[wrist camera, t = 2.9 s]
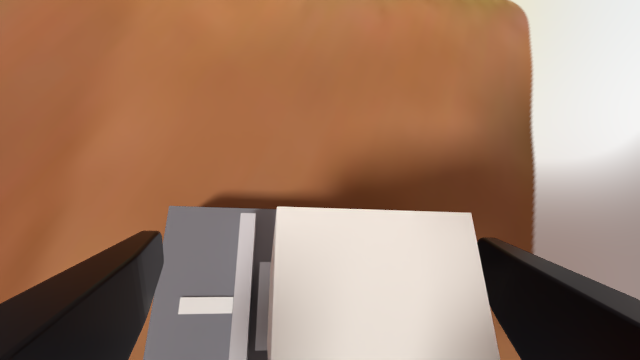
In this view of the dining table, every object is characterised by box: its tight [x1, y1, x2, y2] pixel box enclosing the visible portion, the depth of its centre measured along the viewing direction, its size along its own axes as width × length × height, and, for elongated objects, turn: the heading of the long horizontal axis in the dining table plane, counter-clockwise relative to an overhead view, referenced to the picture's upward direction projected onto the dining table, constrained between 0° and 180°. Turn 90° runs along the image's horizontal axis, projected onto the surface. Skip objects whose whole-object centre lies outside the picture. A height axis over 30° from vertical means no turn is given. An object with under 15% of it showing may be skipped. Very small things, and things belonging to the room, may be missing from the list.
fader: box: [255, 206, 500, 360], centre depth 9 cm, size 3×4×9 cm
